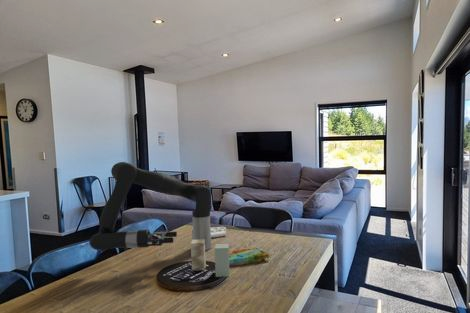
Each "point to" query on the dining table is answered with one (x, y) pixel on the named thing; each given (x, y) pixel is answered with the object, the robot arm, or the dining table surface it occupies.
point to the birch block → (198, 254)
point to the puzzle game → (246, 256)
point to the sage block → (222, 260)
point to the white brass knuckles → (218, 231)
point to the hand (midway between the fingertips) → (175, 237)
